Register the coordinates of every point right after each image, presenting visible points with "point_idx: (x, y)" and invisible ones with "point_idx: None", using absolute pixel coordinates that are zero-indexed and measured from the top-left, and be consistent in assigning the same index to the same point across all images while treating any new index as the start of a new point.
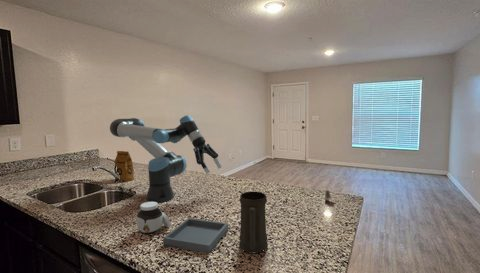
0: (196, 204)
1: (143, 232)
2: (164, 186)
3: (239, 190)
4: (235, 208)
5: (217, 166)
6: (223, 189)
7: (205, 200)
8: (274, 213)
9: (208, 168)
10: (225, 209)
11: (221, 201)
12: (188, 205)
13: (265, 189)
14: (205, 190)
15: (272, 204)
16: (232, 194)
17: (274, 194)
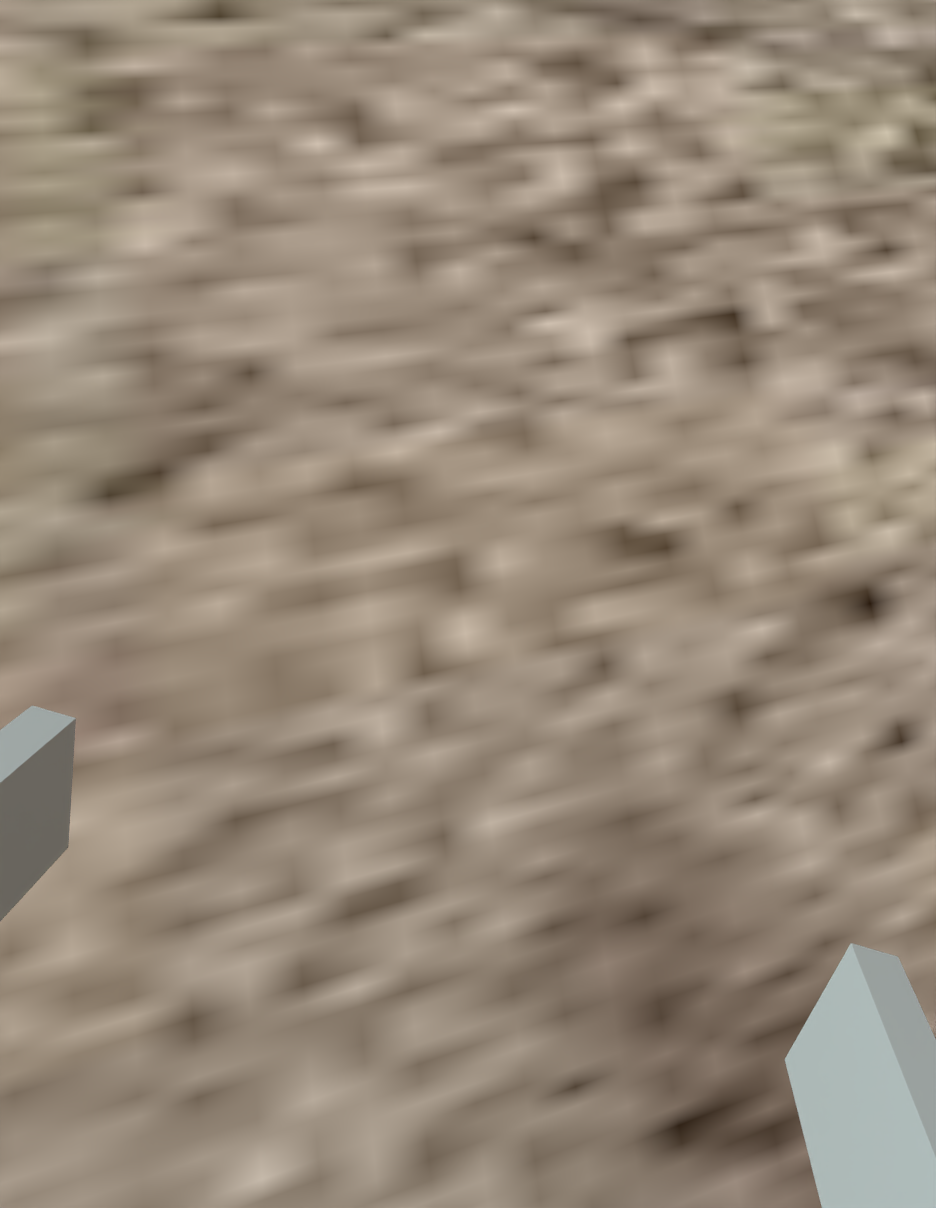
0: None
1: None
2: None
3: (66, 502)
4: (840, 435)
5: (8, 902)
6: None
7: (614, 945)
8: (889, 4)
9: (923, 1067)
10: (904, 555)
11: (616, 678)
12: None
13: (2, 134)
14: (90, 1113)
15: (615, 29)
16: (278, 576)
17: (228, 15)
